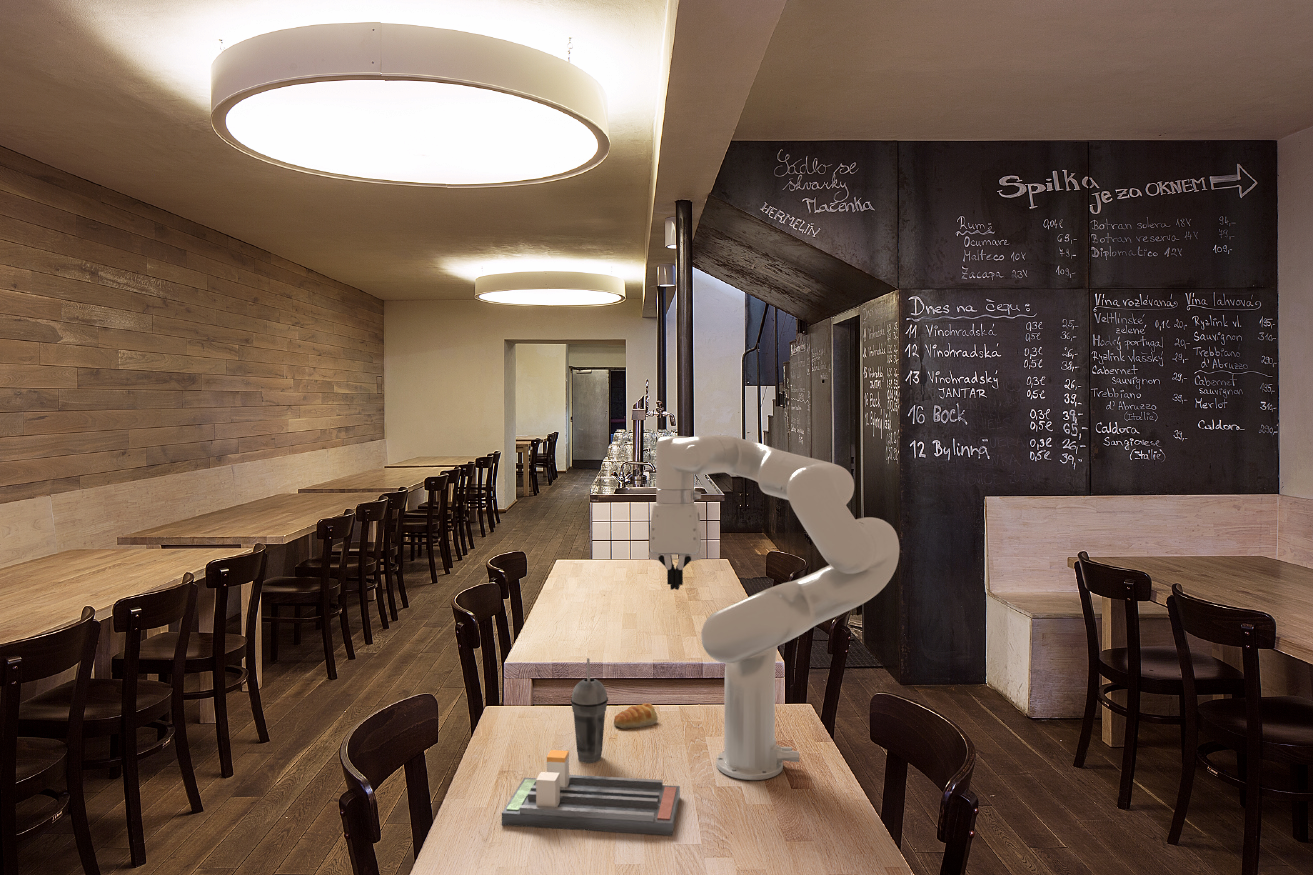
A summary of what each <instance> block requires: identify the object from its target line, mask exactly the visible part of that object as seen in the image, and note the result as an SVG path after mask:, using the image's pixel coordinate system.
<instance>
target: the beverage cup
mask: <svg viewBox="0 0 1313 875" xmlns="http://www.w3.org/2000/svg"><path fill="white" fill-rule="evenodd" d="M590 660H591V659H590V658H589V657H588V658H586V675H587V676H586V677H587V678H584V679H582V680H580V681H579V682H578V683H577V684H576V685H575V686H574V687H573V690H572V693H571V699H570V702H571V709H572V712H573V720H574V730H575V731H574V732H575V742H576V753H577V760H578V761H579V762H580V763H583V764H595V763H598V762H599V761H601V760H602V752H603V744H604V730H605V717H606V711H607V706H608V701H609V698H608V697H609V696H608V692H607V689H606V687H605V686H604V684H603V683H602V682H601V681H600V680H598V679H597V678H596V679H595V678H593V677H592V678H591V667H590V663H591V662H590Z"/></svg>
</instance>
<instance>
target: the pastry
mask: <svg viewBox="0 0 1313 875" xmlns="http://www.w3.org/2000/svg"><path fill="white" fill-rule="evenodd" d="M658 720H659V719H658V714H657V711H656V710H655V707H654V705H653V704H652V703H650V702H647V703H646V702H644V703H642V704H636V705H631V706H629V707H628V708H627V709H625V710H622V711H621V712H619V713H618V714H616V715H615V716H614V719H613V725H615V726H616V727H619V728H621V729H625V730H626V729H640V728H643V727H649V726H652V725H656V724H657V722H658Z"/></svg>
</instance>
